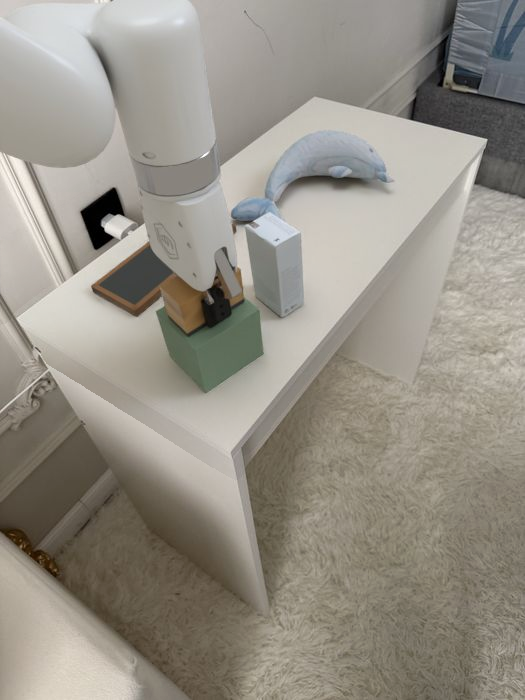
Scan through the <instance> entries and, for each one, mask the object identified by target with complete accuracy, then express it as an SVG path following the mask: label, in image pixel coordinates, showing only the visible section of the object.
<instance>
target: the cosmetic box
mask: <svg viewBox="0 0 525 700" xmlns="http://www.w3.org/2000/svg"><path fill="white" fill-rule="evenodd" d="M244 230H245V236H246V243H247V251H248V257H249V263H250V271H251V278H252V284H253V291H254V296H255V297H256V298H257V299H258V300H259V301H261V302H262V303H263V304H264V305H266V307H268V308H269V309H271V310H272V311H273V312H274V313H275V314H276V315H277V316H279V317H280V318H284V317H286V316H288V315H290V314H291V313H293V312H294V311H296V310H298V309H299V308H300V307H303V305H304V304H305V291H304V290H305V289H304V268H303V249H302V232H301V231H300V230H298V229H296V228H295V227H294V226H292V225H291V224H289V223H287V222H284V221H283V220H281V219H280V218H278V217H277V216H275V215H274V214H272V213H271V212H269V213H267V214H265V215H263V216H261V217H258V218H257V219H255V220H251V221H250V222H249V223H247V224H245V225H244Z"/></svg>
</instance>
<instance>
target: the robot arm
mask: <svg viewBox="0 0 525 700" xmlns="http://www.w3.org/2000/svg"><path fill="white" fill-rule="evenodd" d="M203 41H204V40H203V34H202V27H201V22H200V17H199V14H198V11H197V9H196V7H195V6H194V5H193V3H192V2H191V1H190V0H112V1H109V2H108V1H107V2H80V3H79V2H40V3H37V2H36V3H31V4H26V5H22V6H20V7H17V8H15V9H14V10H12V11H10V12H9V13H8V14H7V15H6V16H4V18H3V17H1V16H0V153H2V154H5V155H7V156H9V157H12V158H15V159H18V160H21V161H24V162H27V163H30V164H33V165H38V166H42V167H47V168H57V169H67V168H76V167H79V166H82V165H86V164H88V163H89V162H91V161H93V160H95V159H96V158H97V157H99V155H101V153H103V152H104V150H105V149H106V147H107V146H108V145H109V143H110V141H111V139H112V136H113V135H114V131H115V124H116V114H117V116H118V119H119V123H120V125H121V129H122V133H123V137H124V140H125V144H126V147H127V151H128V155H129V158H130V163H131V166H132V169H133V173H134V176H135V180H136V184H137V192H138V197H139V202H140V203H139V204H140V208H141V214H142V218H143V221H144V227H145V230H146V235H147V238H148V242H149V243H150V246H151V249H152V250H153V252H154V253H155V254H156V256H157V257H158V258H159V259H160V260H161V261H163V262H164V263H165V264H166V265H167V266H168V267H169V268H170V269H171V270H172V271H173V273H174V274H175V275H176V276H179V277H180V278H182V279H183V280H184V281H185V282H186V283H187V284H189V285H190V286H191V287H192V288H194V289H196V290H198V291H202V294H203V297H204V299H203V300H202V301H201V303H202V308H203V313H204V317H205V322H206V325H207V326H208V327H209V328H212V327H213V326H215V325H217V324H218V323H220V322H222V321H223V320H225V319H226V318H228V317H229V316H231V314H232V312H231V305H230V299H234V298H235V297H237V296H238V295H240V294H242V289H241V287H240V285H239V283H238V281H237V278H236V276H235V274H234V273H236V270H237V267H238V253H237V246H236V240H235V233H234V234H233V229H232V224H233V223H232V220H231V219H232V218H231V214H230V211H229V208H228V204H227V200H226V196H225V193H224V190H223V187H222V184H221V182H220V180H221V177H222V170H221V164H220V156H219V149H218V143H217V136H216V135H217V134H216V127H215V120H214V115H213V106H212V99H211V91H210V85H209V77H208V70H207V64H206V57H205V48H204V42H203ZM116 112H117V113H116ZM216 279H218V280H219V284H220V286H218V287H217V288H215V289H213V290H212V291H211V287H212V285H213V282H214V280H216Z"/></svg>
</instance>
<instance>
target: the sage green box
mask: <svg viewBox="0 0 525 700" xmlns="http://www.w3.org/2000/svg"><path fill="white" fill-rule="evenodd" d="M244 300H245V302H244V303H242V304H241V305H239V306H238V307H236V308H234V309H233V310H231V312H232V314H231V316H229V317H228V318H226V319H225V320H223V321H222V322H220V323H218V324H217V325H215V326H213V327H212V328H209V327H208V326H205V327H204V328H202V329H201V330H199V331H197V332H196V333H194V334H193V335H191V336H189V337H187V336H186V335H185V334H184V333H183V332H182V331H181V330H180V329H179V328H178V327H177V326H176V325H175V324H174V323H173V322H172V321H171V320H170V319H169V318H168V314H167V311H166V307H165V305H164V306H162V307H161V308H159V309H157V310H156V311H155V313H156V317H157V321H158V324H159V326H160V327H159V328H160V329H161V332H162V336H163V340H164V343H165V345H166V349H167V352H168V355H169V357H170V358H172V360H173V361H174V362H175V363H176V364H177V365H178V366H179V367H180V368H181V369H182V370H183V371H184V372H185V373H186V374H187V376H189V377H190V379H191V380H192V381H193V382H194V383H195V384H196V385H197V386H198V387H199V388H200V389H201V390H202V391H203V392H204V393H206V394H207V393H208V392H209V391H211V390H213V389H214V388H216V387H217V386H219V385H220V384H221V383H223V382H224V381H226V380H228V379H229V378H230V377H232V376H233V375H235V374H236V373H238V372H239V371H241V370H242V369H243V368H245V367H246V366H248V365H250V364H251V363H252V362H254V361H256V360H257V359H258V358H260V357H262V356H263V355H264V344H263V333H262V323H261V313H260V308H258V307H257V306H256V305H255V304H254V303H252V302H251V301H250V300H249V299H248V298H246V297H245V296H244Z"/></svg>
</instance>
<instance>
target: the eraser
mask: <svg viewBox="0 0 525 700" xmlns="http://www.w3.org/2000/svg"><path fill="white" fill-rule="evenodd" d="M234 274H235V276H236V278H237V281H238V283H239V285H240V287H241V289H242V294H240V295H238V296H237V297H235V298H234V299H230V305H231V310H233V309H234V308H236V307H238V306H239V305H241V304H242V303H244V302H245V300H244V297H245V293H244V285H243V278H242V269H241V268H240V267H238V266H237V270H236V273H234ZM218 286H220V284H219V280H218V279H216V280H214V282H213V285H212V287H211V291H212V290H213V289H215V288H217V287H218ZM159 287H160V290H161V294H162V296H161V297H162V300H163V303H164V306H165V307H166V311H167V314H168V318H169V319H170V320H171V321H172V322H173V323H174V324H175V325H176V326H177V327H178V328H179V329H180V330H181V331H182V332H183V333H184V334H185V335H186V336H187V337H189V336H191V335H193V334H194V333H196V332H197V331H199V330H201V329H202V328H204V327H205V326H207V325H206V322H205V317H204V313H203V308H202V303H201V301H202V300H203V299H204V297H203V294H202V291H198V290H196V289H194V288H192V287H191V286H190V285H189V284H187V283H186V282H185V281H184V280H183V279H182V278H180V277H179V276H176V277H174V278H173V279H171V280H169V281H167V282H165V283H164V284H162V285H160V286H159Z"/></svg>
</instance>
